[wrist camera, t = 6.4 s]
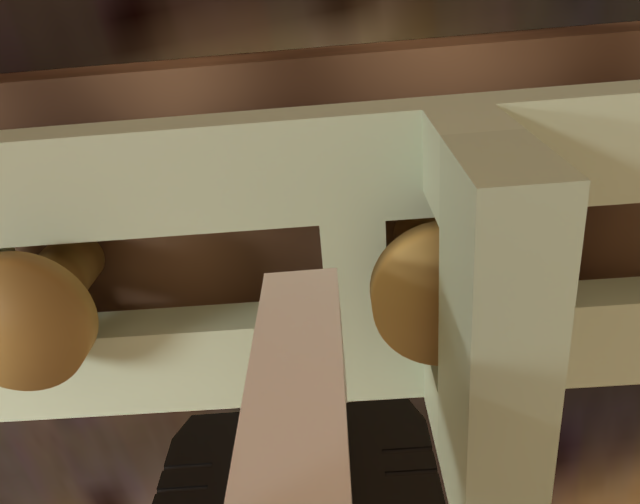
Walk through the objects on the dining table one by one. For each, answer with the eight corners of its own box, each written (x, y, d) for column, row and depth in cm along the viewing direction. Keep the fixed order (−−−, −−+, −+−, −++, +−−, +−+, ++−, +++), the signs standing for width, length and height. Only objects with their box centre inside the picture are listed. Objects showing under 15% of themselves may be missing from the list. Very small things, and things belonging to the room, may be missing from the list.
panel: (19, 390, 18) (-126, 594, 12) (-75, 135, 15) (-339, 248, 9) (716, 348, 18) (918, 544, 12) (786, 67, 14) (1123, 141, 8)
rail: (-57, 368, 22) (-184, 503, 16) (-178, 88, 17) (-406, 143, 12) (675, 322, 21) (800, 450, 15) (740, 12, 16) (947, 34, 11)
